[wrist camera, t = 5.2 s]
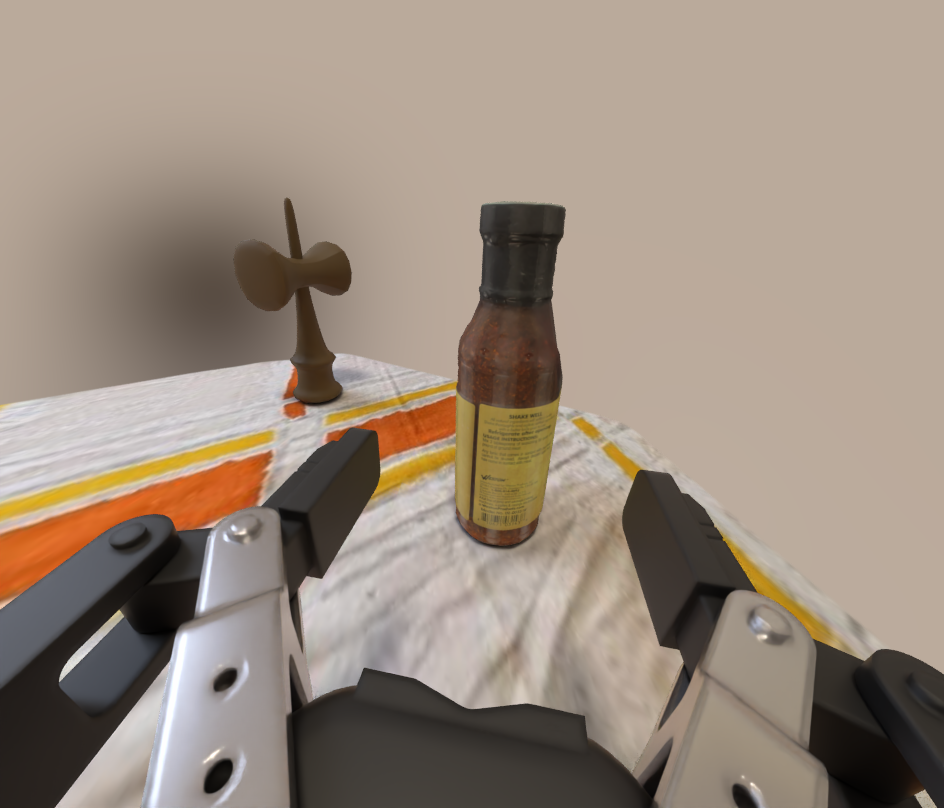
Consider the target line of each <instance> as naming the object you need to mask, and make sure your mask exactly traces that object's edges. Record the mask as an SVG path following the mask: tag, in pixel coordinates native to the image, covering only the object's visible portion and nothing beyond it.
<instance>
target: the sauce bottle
mask: <svg viewBox="0 0 944 808" xmlns="http://www.w3.org/2000/svg"><path fill="white" fill-rule="evenodd" d="M565 211H566V210H565V207H563V206H561V205H557V204H552V203H536V202H505V201H504V202H495V203H486V204H483V205H482V207H481V217H480V234H481V236H482V239H483V263H482V284H481V286H480V287H479V292H480V301H479V304H478V306H477V309H476V311H475V313H474V316H473V318H472V320H471V322H470V323H469V324H468V325H467V327H466V329H465V331H464V333H463V335H462V336H461V339H460V343H459V348H458V366H459V369H458V383H457V386H456V456H455V501H456V514H457V517H458V519H459V521H460V524H461V525H462V526H463V527H464V529H465V530H466V531H467V532H468V533H469V534H470V535H471V536H472V537H473V538H475V539H477V540H479V541H481V542H483V543H488V544H495V545H498V546H505V545H511V544H517V543H519V542H521V541H522V540H524V539H526V538H528V536H529V535H530V534H531V533H533V531H534V530H535V528H536V526H537V524H538V516H539V514H540V512H541V510H542V506H543V501H544V495H545V489H546V483H547V476H548V470H549V463H550V457H551V451H552V444H553V438H554V432H555V426H556V419H557V413H558V407H559V400H560V394H561V388H562V370H561V361H560V354H559V351H558V348H557V343H556V334H555V326H554V317H553V310H552V303H551V299H552V296H553V290H552V285H553V276H554V271H555V262H556V254H557V246H558V244H559V242H560V240H561V238H562V237H563V234H564V220H565Z"/></svg>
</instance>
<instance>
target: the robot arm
mask: <svg viewBox="0 0 944 808" xmlns="http://www.w3.org/2000/svg"><path fill="white" fill-rule="evenodd" d="M379 478H380V458H379V445H378V435H377V432H376V431H373V430H366V429H359V428H350V429H349V430H348V431H347V432H346V433H345V434H344V435H343V437H342V438H341V439H340V440H339V441H331V442H329V443H327V444H326V445H324V446H322V447H320V448H318V449H317V450H316V451H315V452H314V453H313V454H312V455H311V456H310V457H309V458H308V459H307V461H306V462H304V463H303V464H302V465H301V466H300V467H299V468H298V471H297V472H296V471H295V472H294V473H293V474H292V475H291V476H290V477H289V478H288V479H287V480H286V481H285V482H284V484H283V485H282V486H281V487H280V488H279V489H278V490H277V491H276V492H275V493H274V494H273V495H272V496H271V497H270V498H269V499H268V500H267V501H266V502H265V503H264V504H263V505H262V506H261V507H250V508H246V509H243V510H240V511H237V512H235V513H233V514H231V515H229V516H227V517H226V518H224V519H223V520H221V521H220V522H219V523H218V524H217V525H216V526H215V527H214V528H206V529H195V530H185V531H176V529H175V526H174V524H173V522H172V520H171V519H170V518H169V517H167V516H165V515H158V514H152V515H144V516H140V517H136V518H133V519H130V520H127V521H124V522H122V523H120V524H118V525H116V526H114V527H112V528H110V529H108V530H107V531H105V532H104V533H102V534H101V535H99V536H98V537H97V538H95V539H94V540H93V541H91V542H90V543H89V544H87V545H86V546H85V547H83V548H82V549H81V550H79V551H78V552H77V553H75V554H74V555H73V556H71V557H70V558H69V559H67V560H66V561H65V562H63V563H62V564H61V565H59V566H58V567H57V568H55V569H54V570H53V571H51V572H50V573H49V574H47V575H46V576H45V577H43V578H42V579H41V580H39V581H38V582H37V583H35V584H34V585H33V586H31V587H30V588H29V589H27V590H26V591H25V592H23V593H22V594H21V595H19V596H18V597H17V598H15V599H14V600H13V601H11V602H10V603H9V604H7V605H6V606H5V607H3V608H2V609H1V610H0V808H55V807H56V805H57V804H58V803H59V801H60V800H61V799H62V798H63V796H64V795H65V794H66V793H67V791H68V790H69V789H70V787H71V786H72V785H73V784H74V782H75V781H76V780H77V778H78V777H79V776H80V775H81V773H82V772H83V771H84V770H85V768H86V767H87V766H88V764H89V763H90V762H91V761H92V759H93V758H94V757H95V755H96V754H97V753H98V752H99V750H100V749H101V748H102V747H103V745H104V744H105V743H106V741H107V740H108V739H109V738H110V736H111V735H112V734H113V732H114V731H115V730H116V729H117V727H118V726H119V725H120V724H121V722H122V721H123V720H124V718H125V717H126V716H127V715H128V713H129V712H130V711H131V709H132V708H133V707H134V706H135V704H136V703H137V702H138V701H139V699H140V698H141V697H142V695H143V694H144V693H145V692H146V690H147V689H148V688H149V686H150V685H151V684H152V683H153V681H154V680H155V679H156V677H157V676H158V675H159V674H160V672H161V671H162V670H163V669H164V667H165V666H166V665H167V663H168V662H169V661H170V665H169V670H168V675H167V680H166V685H165V690H164V695H163V700H162V705H161V710H160V715H159V720H158V725H157V730H156V735H155V739H154V744H153V749H152V754H151V759H150V764H149V769H148V774H147V779H146V784H145V789H144V794H143V799H142V804H141V808H922V807H921V805H920V804H919V802H918V801H917V799H916V797H915V796H914V795H915V794H917V793H919V792H921V791H923V790H926V791H927V793H928V794H929V796H930V797H931V799H932V800H933V802H934V803H935V805H936V806H937V808H944V674H942V673H941V672H939V671H938V670H936V669H934V668H933V667H931V666H930V665H928V664H926V663H924V662H923V661H921V660H919V659H916V658H914V657H912V656H910V655H907V654H905V653H902V652H899V651H895V650H889V649H881V650H878V651H876V652H875V653H874V654H872V655H871V656H870V657H869V658H868V659H867V660H866V661H863V660H861V659H859V658H856V657H854V656H852V655H849V654H847V653H845V652H842V651H840V650H838V649H835V648H833V647H831V646H828V645H826V644H824V643H821V642H819V641H817V640H815V639H813V638H812V637H811V635H810V634H809V632H808V631H807V629H806V628H805V627H804V626H803V625H802V623H801V622H800V621H799V620H798V619H797V618H796V617H795V616H794V615H793V614H791V613H790V612H789V611H788V610H787V609H785V608H784V607H783V606H781V605H780V604H778V603H777V602H775V601H773V600H772V599H770V598H768V597H766V596H764V595H761V594H759V593H757V591H756V590H755V588H754V586H753V585H752V583H751V582H750V580H749V579H748V577H747V575H746V574H745V572H744V571H743V569H742V567H741V566H740V564H739V563H738V561H737V560H736V558H735V556H734V555H733V553H732V552H731V550H730V548H729V547H728V545H727V544H726V542H725V541H723V540H722V539H723V537H722V536H721V534H720V533H719V531H718V529H717V528H715V527H714V523H713V522H712V520H711V518H710V517H709V515H708V514H707V512H706V510H705V509H704V508H703V507H702V506H701V505H700V504H699V503H697V502H696V501H695V500H694V499H693V498H692V497H691V496H690V495H689V494H684V493H681V491H680V490H679V488H678V486H677V484H676V483H675V481H674V479H673V478H672V476H671V475H670V474H668V473H661V472H654V471H647V470H639V471H638V473H637V474H636V477H635V479H634V482H633V485H632V488H631V490H630V493H629V496H628V498H627V501H626V504H625V506H624V510H623V516H622V524H623V530H624V533H625V536H626V540H627V543H628V546H629V549H630V552H631V556H632V559H633V562H634V565H635V568H636V571H637V575H638V578H639V581H640V584H641V587H642V590H643V594H644V597H645V600H646V603H647V606H648V609H649V613H650V616H651V619H652V622H653V625H654V629H655V632H656V635H657V638H658V641H659V644H660V646H663V647H668V648H673V649H678V650H680V653H681V655H682V658H683V661H684V662H683V663H682V665H681V666H680V668H679V670H678V672H677V675H676V677H675V680H674V682H673V684H672V687H671V689H670V692H669V694H668V696H667V699H666V701H665V704H664V706H663V708H662V711H661V713H660V716H659V718H658V721H657V723H656V725H655V728H654V730H653V733H652V735H651V737H650V739H649V741H648V743H647V745H646V747H645V749H644V751H643V753H642V755H641V756H640V758H639V760H638V762H637V764H636V766H635V768H634V770H633V772H632V774H631V773H630V772H629V771H628V770H627V768H626V767H625V766H624V765H623V764H622V763H621V762H619V761H618V760H617V759H616V758H615V757H614V756H613V755H612V754H611V753H610V752H608V751H607V750H606V749H604V748H603V747H601V746H600V745H599V744H597V743H596V742H595V741H593V740H591V739H589V738H588V737H587V732H586V723H585V716H582V715H578V714H573V713H569V712H564V711H560V710H555V709H551V708H546V707H541V706H537V705H532V704H528V703H527V704H518V705H509V706H500V707H491V708H482V709H467V708H464V707H462V706H461V705H459V704H457V703H455V702H454V701H452V700H450V699H449V698H447V697H445V696H444V695H442V694H440V693H439V692H437V691H435V690H433V689H432V688H430V687H428V686H427V685H425V684H423V683H422V682H420V681H418V680H417V679H414V678H409V677H405V676H400V675H396V674H391V673H386V672H382V671H377V670H373V669H368V668H364V669H363V671H362V674H361V677H360V679H359V682H358V685H356V686H349V687H345V688H341V689H337V690H334V691H332V692H329V693H327V694H324V695H322V696H320V697H318V698H316V699H314V700H313V694H312V688H311V682H310V677H309V672H308V665H307V658H306V648H305V638H304V628H303V618H302V608H301V598H300V591H299V587H300V585H301V584H302V582H303V580H304V579H305V577H306V576H310V577H315V578H320V579H322V578H323V576H324V575H325V573H326V571H327V570H328V568H329V566H330V565H331V563H332V561H333V560H334V558H335V556H336V555H337V553H338V551H339V550H340V548H341V546H342V545H343V543H344V541H345V540H346V538H347V536H348V535H349V533H350V531H351V530H352V528H353V526H354V525H355V523H356V521H357V520H358V518H359V516H360V514H361V513H362V511H363V509H364V508H365V506H366V504H367V503H368V501H369V499H370V498H371V496H372V494H373V493H374V491H375V489H376V487H377V485H378V482H379ZM119 609H120V611H121V612H122V614H123V615H124V618H123V619H122V620H121V621H120V622H119V623H118V624H117V625H116V626H115V627H114V628H113V629H112V630H111V631H110V632H109V633H108V634H107V635H106V636H105V637H104V638H103V639H102V640H101V641H100V642H99V643H98V644H97V645H96V646H95V647H94V648H93V649H92V650H91V651H90V652H89V653H88V654H87V655H86V656H85V657H84V658H83V659H82V660H81V661H80V662H79V663H78V664H77V665H76V666H75V667H74V668H73V669H72V670H71V671H70V672H69V673H68V674H67V675H66V676H65V677H64V678H63V679H62V680H61V681H60V682H59V677H60V674H61V671H62V669H63V668H64V666H65V664H66V663H67V661H68V660H69V659H70V657H71V656H72V655H73V654H74V653H75V652H76V651H77V650H78V649H79V648H80V647H81V646H82V645H83V644H84V643H85V642H86V641H87V640H88V639H89V638H90V637H91V636H92V635H93V634H94V633H95V632H96V631H97V630H99V629H100V628H101V627H102V626H103V625H104V624H105V623H106V622H107V621H108V620H109V619H110V618H111V617H112V616H113V615H114V614H115V613H116V612H117V611H118V610H119Z"/></svg>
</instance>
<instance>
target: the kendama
mask: <svg viewBox="0 0 944 808" xmlns="http://www.w3.org/2000/svg"><path fill="white" fill-rule="evenodd" d="M284 209H285V219H286V226H287V233H288V240H289V247H290V255H291V258H286V257H284V256H283V255H281V254H280V253H279V252H277V251H276V250H275V249H273V248H272V247H271V246H269V245H267V244H265V243H263V242H260V241H257V240H254V239H253V240H246V241H241V242H240V243H239V244H238V245H237V247H236V248H235V254H234V259H233V260H234V267H235V274H236V277H237V280H238V283H239V285H240V288H241V289H242V291H243V292H244V294H245V296H246V297H247V299H248V300H249V301H250V302H251V303H253V304H254V305H255V306H256V307H258V308H260V309H263V310H265V311H278V310H280V309H281V308H282V307H284V306H285V305H286V304H287V303H288V302H289V300H290V299H291V297H292V295H293V294H294V292H295V296H296V310H297V347H296V352H295V354H294V356H293V357H292V358H291V359H290V361H291V363H292V364H293V365H294V366H295V367H296V368H297V372H298V384H297V387H296V388H295V389H294V391H293V394H294V396H295V398H297V399H299V400H301V401H303V402H309V403H319V402H324V401H328V400H331V399H333V398H335V397H337V396H338V395H339V394H340V393H341V391H342V386H341V385H340V384H339V383H338V382H337V381H335V379H334V376H333V371H332V364H333V362H334V360H335V358H336V356H335V355H334V354H333V353H332V352H330V351H329V350H328V349H327V347H326V345H325V343H324V340H323V337H322V334H321V331H320V328H319V325H318V322H317V318H316V315H315V311H314V307H313V304H312V300H311V295H310V291H309V286H310V287H314V288H316V289H317V290H319V291H321V292H324V293H326V294H329V295H332V296H335V295H342V294H343V293H345V292H346V291H348V289H349V286H350V284H351V268H350V263H349V260H348V258H347V256H346V254H345V252H344V251H343V250H342V249H341V248H340V247H338V246H337V245H335V244H332V243H329V242H319V243H317V244H315V245H314V246H313V247H311V248H310V249H309V250H308V251H307V253H305V254H304V255H303V256H302V252H301V246H300V240H299V235H298V230H297V224H296V219H295V215H294V210H293V206H292V203H291V201H290V199H288V198H285V201H284Z"/></svg>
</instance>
